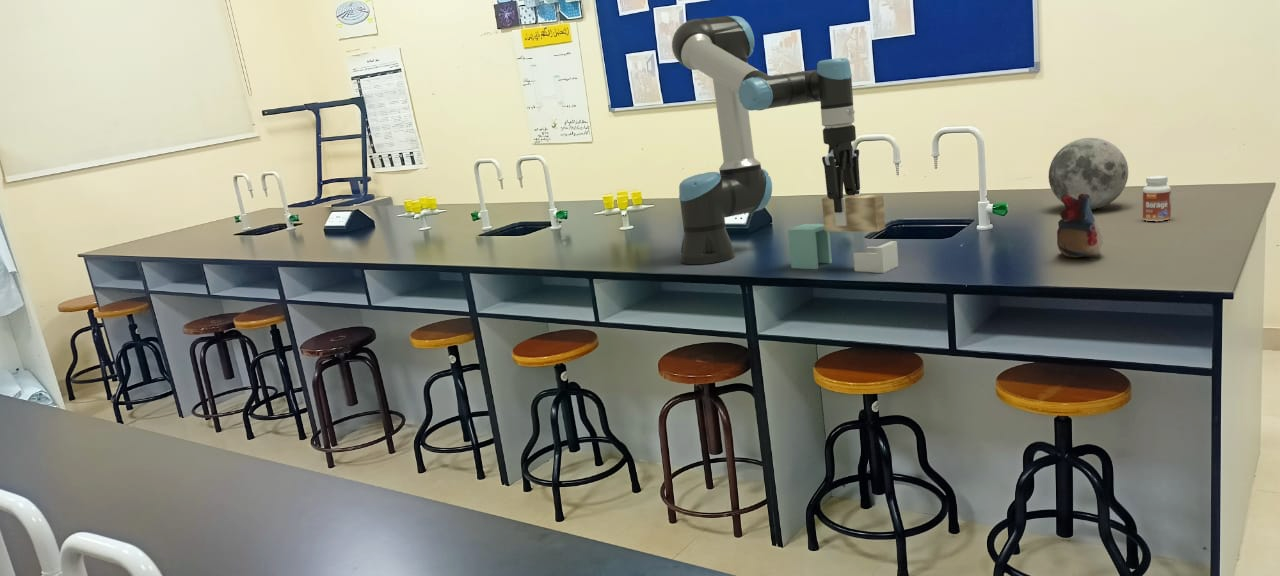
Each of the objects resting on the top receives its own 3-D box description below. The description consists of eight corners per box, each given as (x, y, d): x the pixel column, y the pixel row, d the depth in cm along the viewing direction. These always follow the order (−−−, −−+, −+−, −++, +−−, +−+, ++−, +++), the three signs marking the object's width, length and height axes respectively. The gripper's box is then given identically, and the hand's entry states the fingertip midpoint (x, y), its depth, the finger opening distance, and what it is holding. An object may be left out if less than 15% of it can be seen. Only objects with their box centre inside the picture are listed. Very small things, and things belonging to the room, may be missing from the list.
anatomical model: (1105, 250, 208) (1104, 184, 204) (1100, 263, 197) (1099, 193, 194) (1060, 251, 212) (1058, 187, 209) (1053, 263, 202) (1051, 195, 199)
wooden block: (824, 231, 223) (821, 198, 221) (833, 228, 226) (830, 195, 224) (877, 231, 213) (874, 197, 212) (885, 228, 216) (882, 194, 215)
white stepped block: (854, 271, 218) (852, 246, 217) (869, 264, 223) (868, 240, 222) (883, 273, 213) (881, 247, 212) (898, 266, 218) (896, 241, 217)
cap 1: (791, 268, 230) (787, 229, 228) (807, 261, 235) (803, 223, 233) (816, 269, 225) (813, 229, 223) (831, 262, 230) (828, 224, 228)
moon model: (1070, 202, 272) (1068, 134, 268) (1141, 204, 256) (1140, 132, 252) (1036, 214, 260) (1033, 144, 256) (1108, 216, 244) (1107, 141, 240)
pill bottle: (1142, 223, 232) (1142, 179, 229) (1142, 218, 237) (1142, 175, 234) (1171, 222, 229) (1171, 177, 226) (1170, 217, 234) (1170, 174, 231)
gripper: (834, 128, 207) (842, 230, 212) (870, 120, 219) (877, 217, 224) (805, 131, 212) (814, 230, 217) (842, 123, 224) (850, 217, 229)
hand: (846, 223), depth 221 cm, fingers closed on wooden block, 4 cm apart
